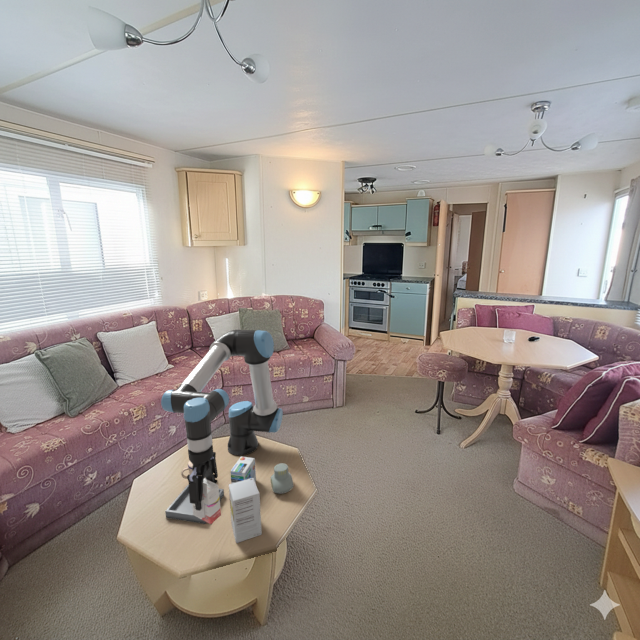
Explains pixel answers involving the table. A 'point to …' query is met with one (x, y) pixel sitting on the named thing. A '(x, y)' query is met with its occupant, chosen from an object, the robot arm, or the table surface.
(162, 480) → the table surface
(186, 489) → the tray
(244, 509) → the supplement box
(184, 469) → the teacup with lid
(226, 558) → the table surface
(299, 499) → the table surface
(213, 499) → the ink cartridge box
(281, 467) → the air freshener
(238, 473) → the light bulb box
